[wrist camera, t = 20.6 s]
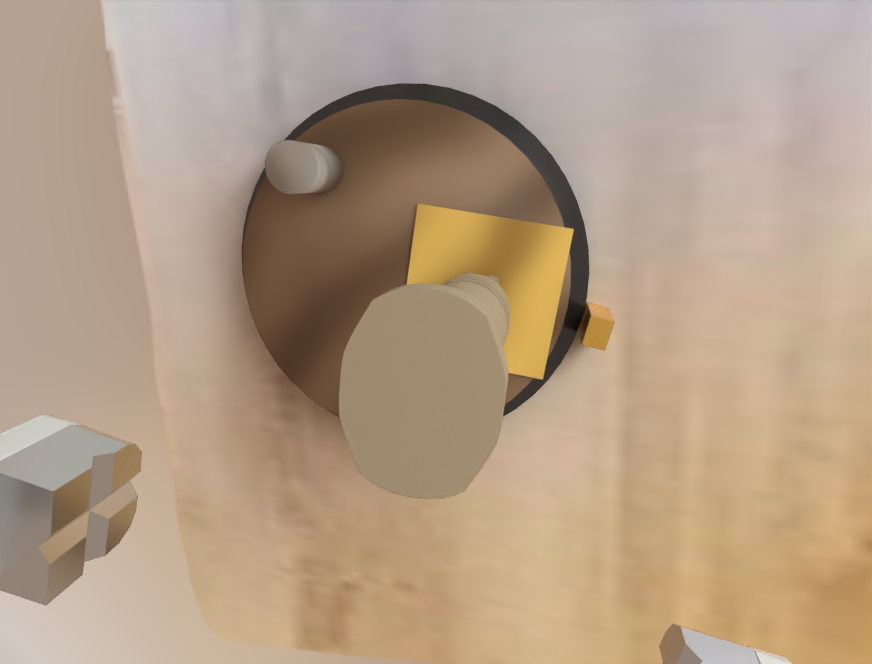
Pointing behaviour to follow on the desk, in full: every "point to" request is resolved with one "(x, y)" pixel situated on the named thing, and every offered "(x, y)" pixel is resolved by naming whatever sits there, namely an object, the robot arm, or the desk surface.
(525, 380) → the disc
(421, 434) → the handle
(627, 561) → the desk surface
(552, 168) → the wheel base
